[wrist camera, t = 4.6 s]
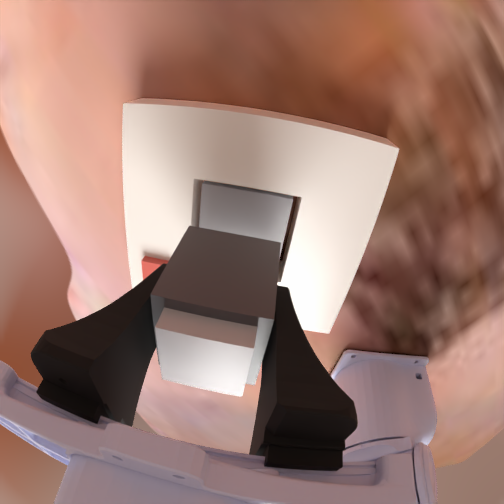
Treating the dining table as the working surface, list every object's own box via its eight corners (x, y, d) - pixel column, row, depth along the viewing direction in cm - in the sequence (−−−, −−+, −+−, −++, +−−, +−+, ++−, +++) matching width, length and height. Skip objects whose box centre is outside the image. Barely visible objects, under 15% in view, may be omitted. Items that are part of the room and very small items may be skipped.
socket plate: (387, 138, 16) (403, 151, 14) (327, 311, 24) (329, 339, 22) (141, 97, 17) (117, 104, 14) (144, 276, 24) (129, 300, 22)
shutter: (293, 196, 18) (293, 199, 17) (276, 268, 21) (276, 272, 20) (204, 180, 18) (202, 183, 17) (199, 253, 21) (197, 257, 20)
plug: (280, 242, 15) (272, 341, 10) (264, 309, 17) (252, 403, 12) (189, 225, 15) (140, 313, 10) (187, 293, 17) (152, 381, 12)
